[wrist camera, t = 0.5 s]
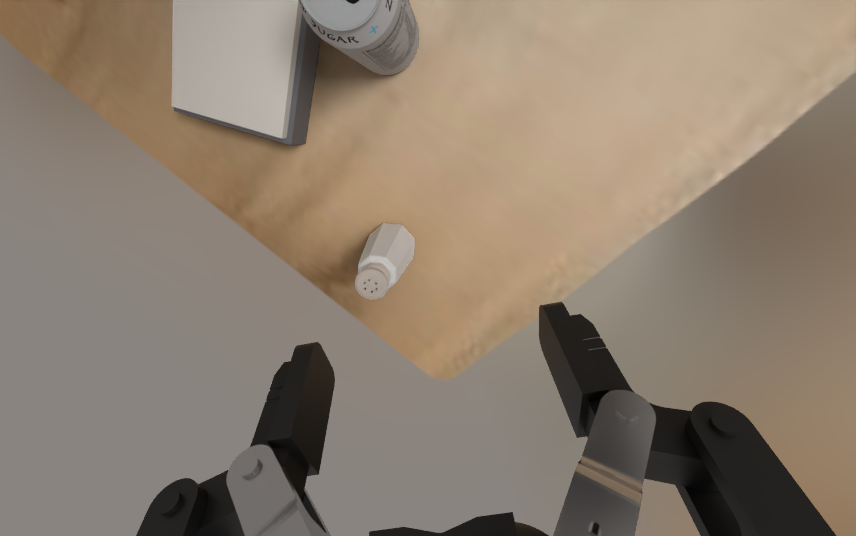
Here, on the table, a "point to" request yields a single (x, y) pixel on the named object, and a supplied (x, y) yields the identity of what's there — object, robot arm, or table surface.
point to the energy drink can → (367, 30)
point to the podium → (245, 65)
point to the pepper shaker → (384, 260)
